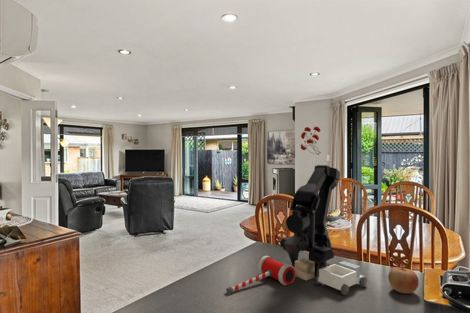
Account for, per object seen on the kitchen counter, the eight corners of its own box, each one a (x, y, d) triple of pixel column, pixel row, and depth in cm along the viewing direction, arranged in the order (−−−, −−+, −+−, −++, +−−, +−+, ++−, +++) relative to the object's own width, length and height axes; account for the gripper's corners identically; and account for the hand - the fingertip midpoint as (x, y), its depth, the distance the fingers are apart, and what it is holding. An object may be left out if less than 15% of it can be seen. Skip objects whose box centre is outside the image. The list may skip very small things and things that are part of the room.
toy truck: (339, 275, 103) (339, 259, 103) (366, 285, 96) (367, 267, 96) (315, 285, 95) (315, 267, 95) (343, 296, 88) (343, 277, 88)
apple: (381, 288, 94) (382, 262, 94) (399, 284, 97) (400, 259, 97) (405, 299, 87) (406, 271, 87) (424, 295, 90) (424, 268, 90)
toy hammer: (240, 303, 84) (240, 280, 84) (216, 287, 93) (217, 267, 93) (296, 283, 98) (296, 263, 98) (270, 271, 107) (271, 253, 107)
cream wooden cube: (304, 272, 106) (304, 258, 106) (315, 277, 102) (316, 262, 102) (294, 275, 103) (294, 261, 103) (306, 280, 99) (306, 265, 99)
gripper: (269, 224, 105) (268, 269, 105) (313, 236, 90) (312, 289, 90) (291, 221, 112) (290, 263, 112) (335, 231, 97) (334, 280, 97)
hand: (305, 273), depth 103 cm, fingers open, 9 cm apart
